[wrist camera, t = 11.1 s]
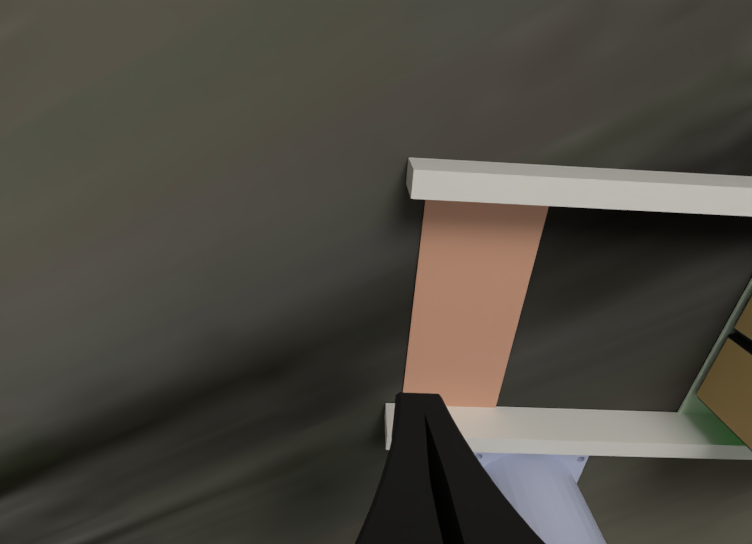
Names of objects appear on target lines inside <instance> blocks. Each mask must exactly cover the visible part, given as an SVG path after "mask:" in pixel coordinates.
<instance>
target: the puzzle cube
mask: <svg viewBox="0 0 752 544" xmlns="http://www.w3.org/2000/svg"><path fill="white" fill-rule="evenodd" d="M734 329H735V331H736V333H732V334H729V335H728V336H727V338H726V340H725V342H724V344H723V345H722V347H721V349H720V351H719V353H718V354H717V356H716V358H715V360H714V362H713V363H712V365H711V367H710V369H709V371H708V372H707V374H706V376H705V378H704V380H703V381H702V383H701V385H700V387H699V389H698V390H697V393H696V396H697V397H698V398H699V400H700V401H701V402H702V403H704V404H705V405H706V406H707V407H708V408H709V409H710V410H711V411H712V412H713V413H714V414H715V415H716V416H717V417H718V418H719V419H720V420H721V421H722V422H723V423H724V424H725V425H726V426H727V427H728V428H729V429H730V430H731V431H732V432H733V433H734V434H735V435H736V436H737V437H738V438H739V439H740V440H741V441H742V442H743V443H744V444H745V445H746V446H747V447H748V448H749V449H750V450H751V451H752V294H751V296H750V298H749V300H748V301H747V303H746V305H745V307H744V309H743V310H742V312H741V314H740V316H739V318H738V319H737V321H736V323H735V325H734Z"/></svg>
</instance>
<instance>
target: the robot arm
mask: <svg viewBox="0 0 752 544" xmlns="http://www.w3.org/2000/svg"><path fill="white" fill-rule="evenodd" d="M588 457H589V455H555V454H518V453H481V452H473V451H472V450H471V448H470V446H469V445H468V443H467V442H466V440H465V439H464V437H463V435H462V434H461V432H460V430H459V429H458V427H457V425H456V423H455V422H454V420H453V418H452V416H451V414H450V413H449V411H448V409H447V407H446V405H445V403H444V401H443V399H442V397H441V396H440V395H439V394H433V393H402V392H400V393H398V394H397V395H396V399H395V408H394V418H393V427H392V441H391V445H390V449H389V453H388V457H387V460H386V463H385V467H384V470H383V473H382V477H381V480H380V483H379V486H378V488H377V491H376V494H375V497H374V499H373V502H372V505H371V507H370V510H369V512H368V514H367V517H366V519H365V522H364V524H363V526H362V529H361V531H360V533H359V536H358V538H357V540H356V542H355V544H606V542H605V540H604V538H603V536H602V534H601V532H600V530H599V528H598V526H597V524H596V522H595V520H594V518H593V516H592V514H591V512H590V510H589V508H588V506H587V504H586V502H585V500H584V498H583V496H582V494H581V492H580V490H579V488H578V486H577V482H578V479H579V477H580V475H581V473H582V470H583V468H584V466H585V464H586V461H587V459H588Z"/></svg>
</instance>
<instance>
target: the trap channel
mask: <svg viewBox="0 0 752 544" xmlns="http://www.w3.org/2000/svg"><path fill="white" fill-rule="evenodd" d="M406 185H407V188H408V191H409V195H410V198H411V199H424V200H425V206H424V215H423V223H422V232H421V241H420V249H419V258H418V266H417V275H416V283H415V292H414V300H413V309H412V318H411V326H410V335H409V343H408V352H407V360H406V369H405V377H404V386H403V393H433V394H439V395H440V396H441V397H442V399H443V401H444V403H445V405H446V407H447V409H448V411H449V413H450V414H451V416H452V418H453V420H454V422H455V423H456V425H457V427H458V429H459V430H460V432H461V434H462V435H463V437H464V439H465V440H466V442H467V443H468V445H469V446H470V448H471V450H472V451H473V452H481V453H518V454H555V455H591V456H628V457H665V458H702V459H739V460H752V451H751V450H750V449H749V448H748V447H747V446H746V445H745V444H744V443H743V442H742V441H741V440H740V439H739V438H738V437H737V436H736V435H735V434H734V433H733V432H732V431H731V430H730V429H729V428H728V427H727V426H726V425H725V424H724V423H723V422H722V421H721V420H720V419H719V418H718V417H717V416H716V415H715V414H714V413H713V412H712V411H711V410H710V409H709V408H708V407H707V406H706V405H705V404H704V403H702V402H701V401H700V400H699V398H698V397H697V396H696V393H697V390H698V389H699V387H700V385H701V383H702V381H703V380H704V378H705V376H706V374H707V372H708V371H709V369H710V367H711V365H712V363H713V362H714V360H715V358H716V356H717V354H718V353H719V351H720V349H721V347H722V345H723V344H724V342H725V340H726V338H727V336H728V335H729V334H732V333H736V331H735V329H734V325H735V323H736V321H737V319H738V318H739V316H740V314H741V312H742V310H743V309H744V307H745V305H746V303H747V301H748V300H749V298H750V296H751V294H752V278H751V280H750V282H749V284H748V285H747V287H746V289H745V291H744V293H743V294H742V296H741V298H740V300H739V302H738V303H737V305H736V307H735V309H734V311H733V312H732V314H731V316H730V318H729V320H728V321H727V323H726V325H725V327H724V329H723V330H722V332H721V334H720V336H719V338H718V339H717V341H716V343H715V345H714V347H713V348H712V350H711V352H710V354H709V356H708V357H707V359H706V361H705V363H704V365H703V366H702V368H701V370H700V372H699V374H698V375H697V377H696V379H695V381H694V383H693V384H692V386H691V388H690V390H689V392H688V393H687V395H686V397H685V399H684V401H683V402H682V404H681V406H680V408H679V410H678V411H677V412H653V411H622V410H590V409H559V408H527V407H496V404H497V400H498V396H499V392H500V389H501V385H502V381H503V377H504V374H505V370H506V366H507V362H508V358H509V355H510V351H511V347H512V343H513V340H514V336H515V332H516V328H517V325H518V321H519V317H520V313H521V309H522V306H523V302H524V298H525V294H526V291H527V287H528V283H529V279H530V276H531V272H532V268H533V264H534V261H535V257H536V253H537V249H538V245H539V242H540V238H541V234H542V230H543V227H544V223H545V219H546V215H547V212H548V208H549V206H559V207H578V208H598V209H617V210H636V211H656V212H675V213H694V214H714V215H733V216H752V177H751V176H733V175H715V174H697V173H679V172H661V171H644V170H626V169H608V168H590V167H572V166H554V165H536V164H518V163H500V162H482V161H464V160H446V159H428V158H410V157H408V167H407V177H406ZM394 408H395V403H386V405H385V416H384V418H385V442H386V450H389V449H390V445H391V441H392V427H393V418H394Z"/></svg>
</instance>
